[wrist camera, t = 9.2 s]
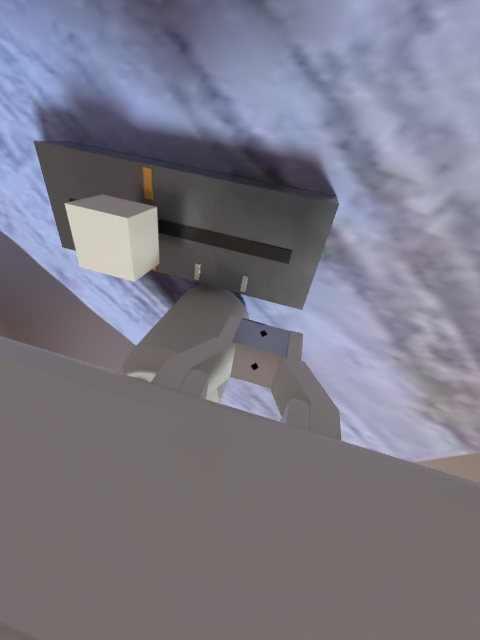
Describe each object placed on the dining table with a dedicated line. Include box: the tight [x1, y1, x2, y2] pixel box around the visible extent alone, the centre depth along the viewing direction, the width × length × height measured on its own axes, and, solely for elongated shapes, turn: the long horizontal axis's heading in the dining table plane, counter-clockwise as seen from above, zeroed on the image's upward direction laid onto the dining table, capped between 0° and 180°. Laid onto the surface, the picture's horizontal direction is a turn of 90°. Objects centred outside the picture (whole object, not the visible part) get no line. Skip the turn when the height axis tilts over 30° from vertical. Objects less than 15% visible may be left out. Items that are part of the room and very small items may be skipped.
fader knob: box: [65, 194, 159, 282], centre depth 18 cm, size 4×4×5 cm
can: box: [123, 284, 249, 403], centre depth 22 cm, size 8×8×12 cm
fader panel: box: [34, 141, 339, 310], centre depth 21 cm, size 8×22×3 cm, turn 81°
